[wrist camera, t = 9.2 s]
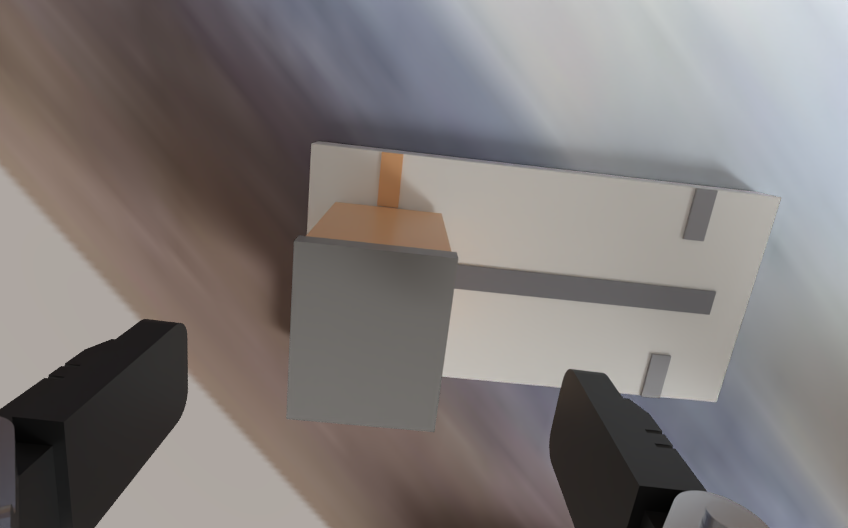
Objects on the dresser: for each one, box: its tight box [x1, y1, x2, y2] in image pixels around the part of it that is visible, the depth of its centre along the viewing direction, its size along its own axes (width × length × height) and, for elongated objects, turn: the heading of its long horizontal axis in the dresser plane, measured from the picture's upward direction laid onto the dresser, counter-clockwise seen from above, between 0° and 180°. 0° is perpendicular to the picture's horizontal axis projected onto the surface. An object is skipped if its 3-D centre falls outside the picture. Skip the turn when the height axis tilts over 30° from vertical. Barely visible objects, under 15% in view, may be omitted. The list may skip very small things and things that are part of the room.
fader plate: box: [307, 141, 781, 402], centre depth 21 cm, size 18×9×2 cm, turn 83°
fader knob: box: [286, 202, 458, 432], centre depth 17 cm, size 4×5×6 cm
